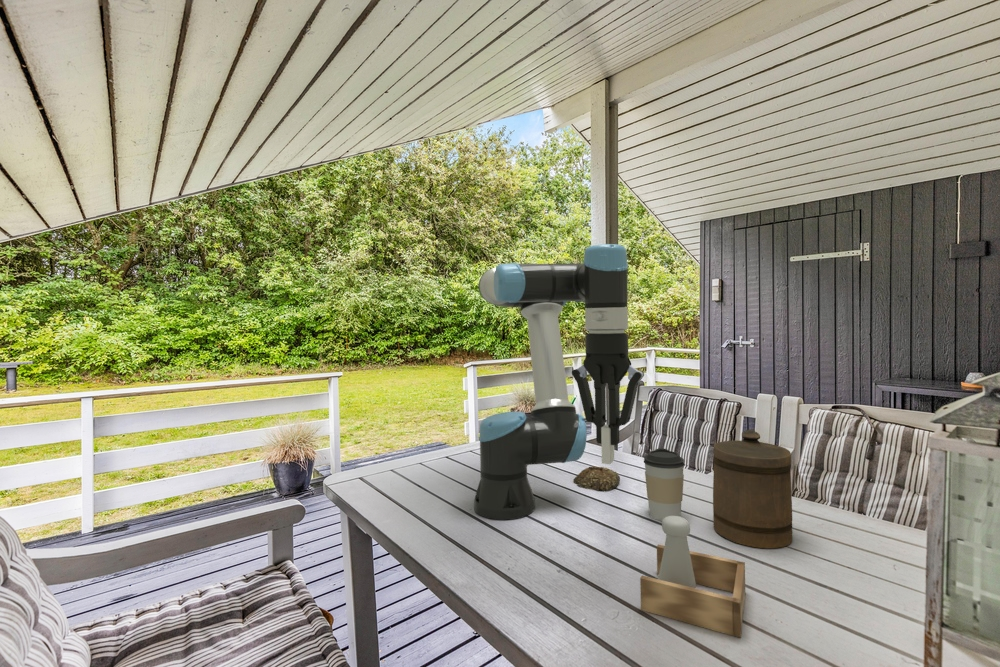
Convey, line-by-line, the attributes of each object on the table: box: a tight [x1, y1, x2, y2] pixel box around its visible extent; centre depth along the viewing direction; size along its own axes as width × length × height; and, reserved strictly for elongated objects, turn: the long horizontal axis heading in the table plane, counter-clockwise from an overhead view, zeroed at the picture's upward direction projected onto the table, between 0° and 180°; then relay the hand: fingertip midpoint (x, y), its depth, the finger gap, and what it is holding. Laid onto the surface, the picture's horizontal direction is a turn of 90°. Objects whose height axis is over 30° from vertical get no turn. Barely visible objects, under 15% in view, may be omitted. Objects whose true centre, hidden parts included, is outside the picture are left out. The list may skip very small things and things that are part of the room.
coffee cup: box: [643, 448, 685, 522], centre depth 110 cm, size 9×9×15 cm
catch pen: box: [639, 544, 746, 638], centre depth 76 cm, size 14×13×5 cm
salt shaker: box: [657, 516, 697, 589], centre depth 77 cm, size 6×6×13 cm
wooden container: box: [712, 429, 793, 549], centre depth 99 cm, size 15×15×22 cm
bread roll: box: [573, 466, 621, 492], centre depth 134 cm, size 13×12×5 cm
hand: (608, 461), depth 85 cm, fingers closed
